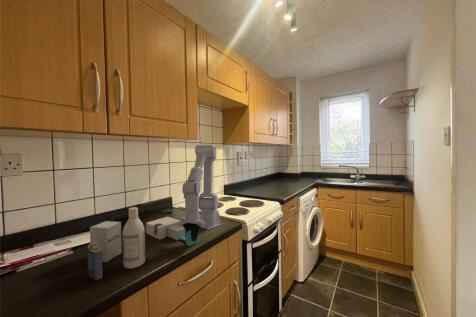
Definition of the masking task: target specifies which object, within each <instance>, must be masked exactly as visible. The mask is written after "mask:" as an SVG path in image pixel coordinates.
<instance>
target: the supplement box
mask: <svg viewBox="0 0 476 317" xmlns="http://www.w3.org/2000/svg"><path fill="white" fill-rule="evenodd" d="M92 242H94V243H96V242H97V244H96V245H97V247H98V248H99V249H102V263H108V262H109V261H110V260H112V259H113V258H115V257H117V256H119V255H120V254H122V221H109V220H106V221H105V220H104V221H103V222H99V223H98V224H95V225H92V226H90V227H89V244H90V243H91V244H92Z"/></svg>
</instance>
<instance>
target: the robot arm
mask: <svg viewBox="0 0 476 317" xmlns="http://www.w3.org/2000/svg"><path fill="white" fill-rule="evenodd" d="M194 154H195V157H196V158H195V163H194V166H193V167H192V168H191V169H190V170H189V174H188V177H187V180H186V181H185V182H183V185H182V188H181V189H182V195H183V199H184V204H185V206H184V207H185V208H184V211H185V212H184V214H185V215H181V216H180V217H179V220H180V221H181V222H183V224H182V226H183V228H185V233H186V232H188V231H191V238H192V241H196V240H197V236H198V233H199V234H200V231H201V229H204V230H208V231H209V230H212V229H213V228H216V227H219V226H220V225H221V223H220V210H219V209H218V206H219V198H218V195H217V194H216V193H215V192H214V191H213V182H214V181H213V179H214V178H213V174H214V173H213V171H214V170H213V168H214V167H213V166H214V162H215V161H216V160H217V148H216V145H215V144H196V146H195V147H194ZM202 178H203V184H202V183H201V181H202ZM202 187H203V188H202ZM201 188H202V189H203V192H202V193H200V192H201V190H202V189H201ZM199 211H200V212H201V213H200V212H199ZM200 214H201V217H200Z"/></svg>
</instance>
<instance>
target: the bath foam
mask: <svg viewBox="0 0 476 317" xmlns="http://www.w3.org/2000/svg"><path fill="white" fill-rule="evenodd" d="M145 235H146V232H145V226H144V223H143V222H142V220H141V219H140V217H139V208H138V207H136V206H132V207H129V208H128V220H127V221H126V223H125V225H124V226H123V229H122V260H123V267H124V268H125V269H131V270H132V269H136V268H140V266H141V267H142V266H143V265H144V264H145V262H146V236H145Z"/></svg>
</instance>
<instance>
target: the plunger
mask: <svg viewBox="0 0 476 317" xmlns="http://www.w3.org/2000/svg"><path fill="white" fill-rule="evenodd" d="M158 226H161V224H160V223H158V224H155V234H157V227H158Z"/></svg>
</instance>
